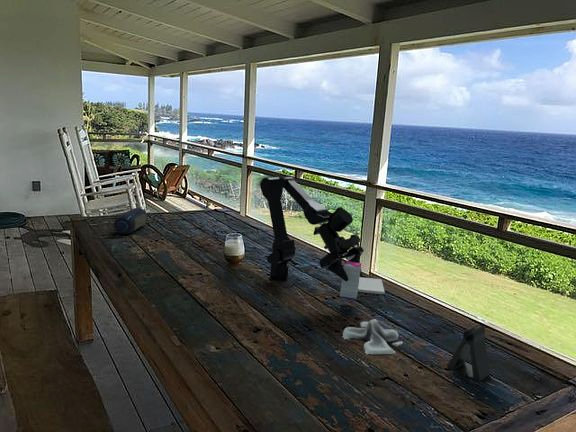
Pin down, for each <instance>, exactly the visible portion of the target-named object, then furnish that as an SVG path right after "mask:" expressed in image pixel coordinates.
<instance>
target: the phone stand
mask: <svg viewBox="0 0 576 432" xmlns="http://www.w3.org/2000/svg"><path fill="white" fill-rule="evenodd" d="M479 326H480V327H479ZM485 334H486V328H485V327H484V326H483V325H479V324H475V325H473V326H472V327H469V328H468V329H466V330H465V331H464V332H463V334H462V340H461V342H460V344H459V345H458V346H457V349H455V352H454V354H453V355H452V357H451V359H450V360H449V361H448V363H447V365H446V368H447V369H449V370H452V371H454V372H456V373H458V374H461V375H463V376H464V375H465V377H467V378H469V379H470V380H471V379H472V380H474V381H475V382H477V381H478V382H477V383H480V382H481V381H483V380H485V379H486V378H487V377H488V376H490V375H491V373H492V372H491V368H490V362H489V355H488V352H487V347H486V341H485ZM469 353H470V359H471V363H470V364H469V363H468V362H466V359H467V356H468V355H469Z"/></svg>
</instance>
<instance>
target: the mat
mask: <svg viewBox="0 0 576 432" xmlns="http://www.w3.org/2000/svg"><path fill="white" fill-rule="evenodd" d="M358 292H359V293H366V294H375V295H385V293H386V292H385V287H384V284H383V280H382V279H381V278H371V277H370V278H369V277H362V276H361V277H360V278H359V286H358Z"/></svg>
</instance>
